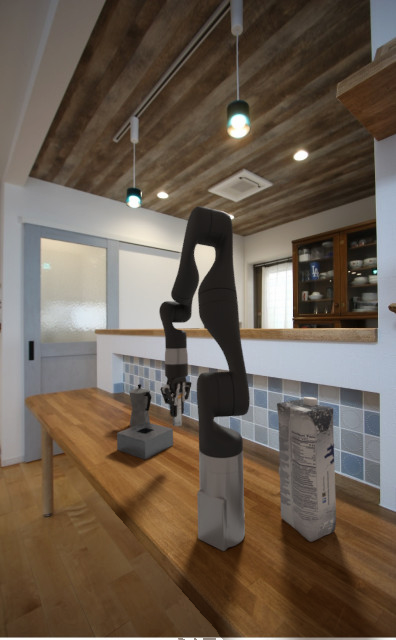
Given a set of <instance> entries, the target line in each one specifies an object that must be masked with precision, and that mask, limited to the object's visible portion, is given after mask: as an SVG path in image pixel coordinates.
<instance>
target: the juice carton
mask: <svg viewBox="0 0 396 640" xmlns="http://www.w3.org/2000/svg"><path fill="white" fill-rule="evenodd" d="M276 409H277V416H278V417H277V419H278V449H279V450H278V451H279V453H278V455H279V458H278V459H279V468H280V475H279V488H280V489H279V490H280V491H279V492H280V516H281V518H282V520H283V521H284V522H286V523H287V524H288V525H289V526H291V527H292V528H294V529H295V531H297V532H298V533H299V534H300V535H301V536H302V537H303V538H305V539H306V540H307V541H309V542H312V543H313V542H314V541H317V540H319V539H321V538H323V537H324V536H327V535H331V534H332V533H334V532H335V530H336V523H337V521H336V520H337V509H336V508H337V505H336V504H337V503H336V476H335V475H336V474H335V473H336V472H335V471H336V470H335V469H336V468H335V440H334V437H335V436H334V407H331V406H327V405H321V404H318V398H316V397H313V396H303V399H302V398H300V399H294V400H288V401H287V400H286V401H283V402H276Z"/></svg>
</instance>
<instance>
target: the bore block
mask: <svg viewBox="0 0 396 640" xmlns="http://www.w3.org/2000/svg"><path fill="white" fill-rule="evenodd" d="M116 440H117V441H116V446H117V448H116V449H117V451H119V452H122V453H125V454H128V455H130V456H133V457H137V458H139V459H143V460H148V459H150V458H152V457H153V456H155V455H157V454H159V453H161V452H163V451H165V450H166V449H168V448H170V447H172V446H173V445H174V429H173V428H172V427H167V426H163V425H159V424H155V423H152V422H150V423H148V422H144V423H142V424H139V425H137V426H134V427H129V428H126V429H123V430H120V431H119V432H116Z"/></svg>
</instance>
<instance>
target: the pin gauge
mask: <svg viewBox="0 0 396 640" xmlns="http://www.w3.org/2000/svg"><path fill="white" fill-rule="evenodd" d="M173 395H175V394H173ZM172 400H173V401H174V398H173V399H172ZM182 425H183V423H182V415H181V393H179V397H178V398H177V417H172V426H173V427H180V426H182Z"/></svg>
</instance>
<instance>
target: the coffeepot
mask: <svg viewBox="0 0 396 640" xmlns="http://www.w3.org/2000/svg"><path fill="white" fill-rule="evenodd" d="M128 392H129V399H130V405H131V408H132V409H131V412H130V413H131V415H130V420H129V428H131V427H134V426H137V425H139V424H142V423H144V422H148V423H151V420H150V415H149V411H150V407H151V401H152V394H151V390H150V389H148V388H143V387H142V384H141V383H140V384H139V383H138V384H137V388H135V389H130V390H129V391H128Z"/></svg>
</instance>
